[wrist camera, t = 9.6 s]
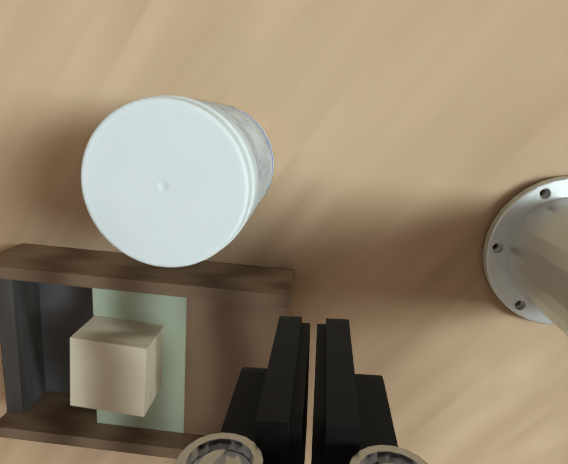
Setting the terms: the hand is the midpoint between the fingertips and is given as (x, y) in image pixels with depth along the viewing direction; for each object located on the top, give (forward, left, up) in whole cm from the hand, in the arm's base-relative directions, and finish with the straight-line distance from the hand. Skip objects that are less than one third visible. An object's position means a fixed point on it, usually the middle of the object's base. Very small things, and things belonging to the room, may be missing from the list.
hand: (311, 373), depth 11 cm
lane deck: (+14, +15, -28) cm, 35 cm away
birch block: (+15, +15, -24) cm, 32 cm away
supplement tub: (+8, -2, -28) cm, 30 cm away
